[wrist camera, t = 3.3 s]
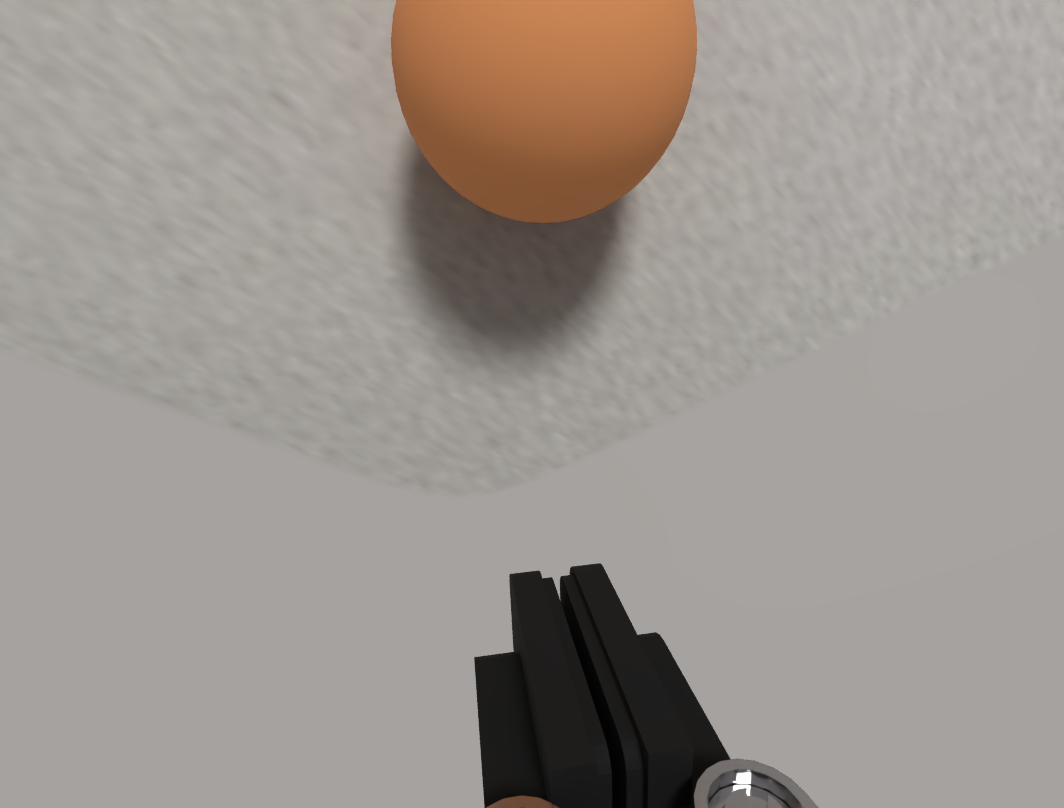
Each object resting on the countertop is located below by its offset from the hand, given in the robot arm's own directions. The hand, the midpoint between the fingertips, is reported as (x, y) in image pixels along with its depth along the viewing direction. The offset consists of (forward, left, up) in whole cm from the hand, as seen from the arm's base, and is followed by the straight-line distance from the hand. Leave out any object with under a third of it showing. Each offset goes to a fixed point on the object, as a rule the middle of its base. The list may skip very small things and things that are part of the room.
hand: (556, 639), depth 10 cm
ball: (-1, -10, -3) cm, 11 cm away
